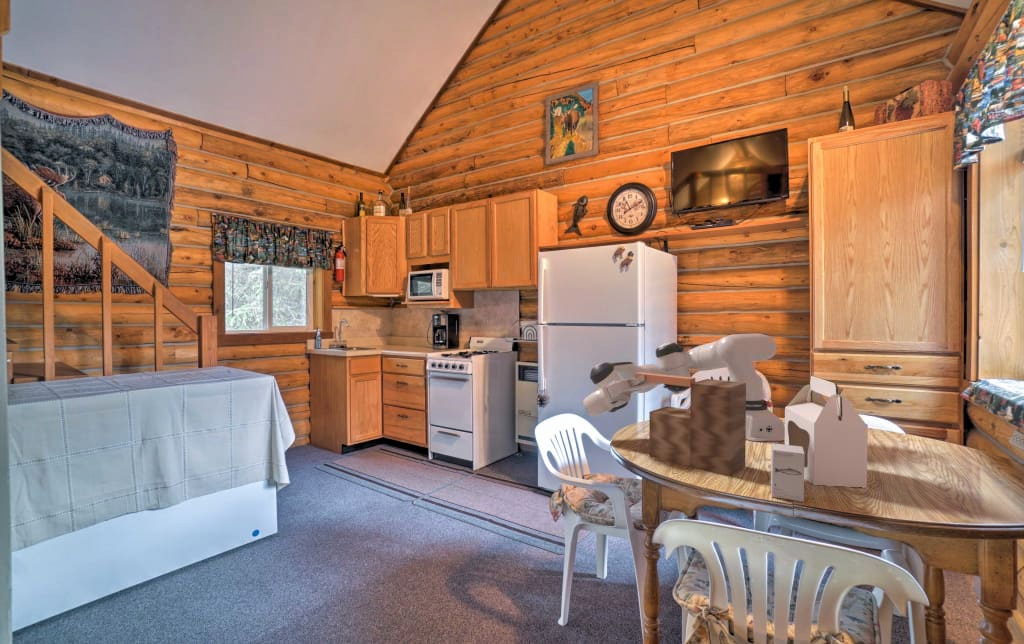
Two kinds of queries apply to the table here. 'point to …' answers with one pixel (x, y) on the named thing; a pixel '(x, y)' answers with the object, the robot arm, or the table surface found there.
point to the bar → (667, 379)
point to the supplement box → (787, 472)
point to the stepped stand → (703, 428)
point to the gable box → (828, 435)
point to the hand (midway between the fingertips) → (648, 376)
